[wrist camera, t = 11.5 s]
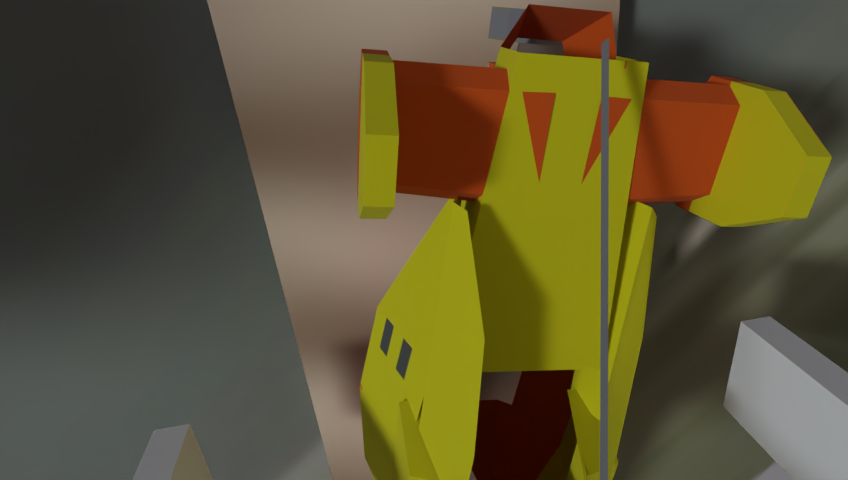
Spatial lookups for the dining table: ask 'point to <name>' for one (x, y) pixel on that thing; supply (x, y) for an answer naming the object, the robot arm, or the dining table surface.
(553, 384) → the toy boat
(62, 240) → the dining table surface
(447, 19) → the pad two
